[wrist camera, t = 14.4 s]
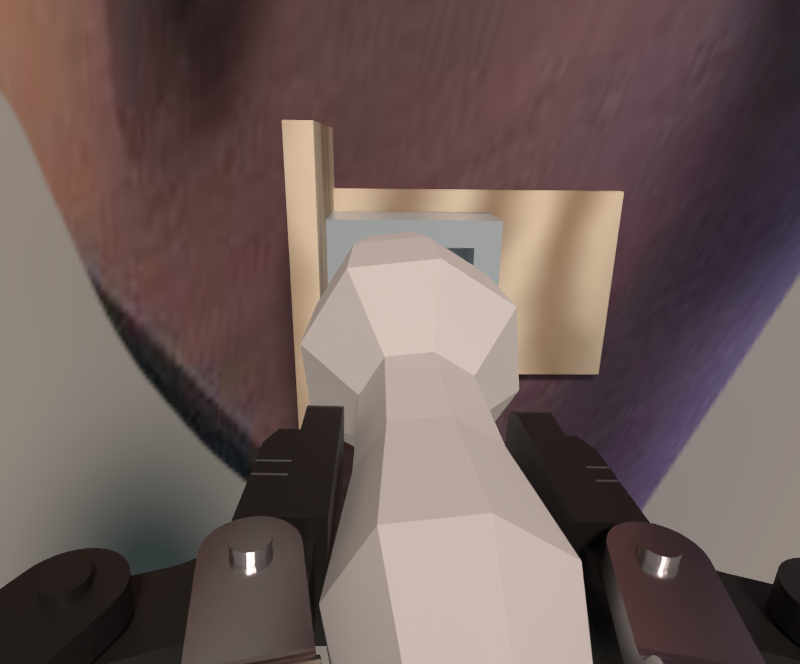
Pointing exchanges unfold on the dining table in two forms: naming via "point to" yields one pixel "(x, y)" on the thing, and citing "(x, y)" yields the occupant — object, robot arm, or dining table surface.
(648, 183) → the dining table surface
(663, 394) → the dining table surface
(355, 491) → the low poly bottle
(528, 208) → the tan wooden board
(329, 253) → the holder
